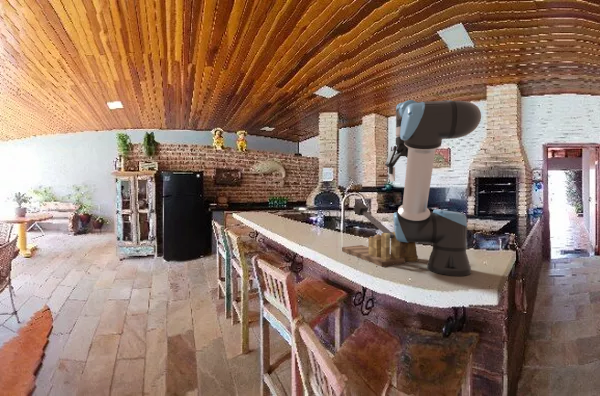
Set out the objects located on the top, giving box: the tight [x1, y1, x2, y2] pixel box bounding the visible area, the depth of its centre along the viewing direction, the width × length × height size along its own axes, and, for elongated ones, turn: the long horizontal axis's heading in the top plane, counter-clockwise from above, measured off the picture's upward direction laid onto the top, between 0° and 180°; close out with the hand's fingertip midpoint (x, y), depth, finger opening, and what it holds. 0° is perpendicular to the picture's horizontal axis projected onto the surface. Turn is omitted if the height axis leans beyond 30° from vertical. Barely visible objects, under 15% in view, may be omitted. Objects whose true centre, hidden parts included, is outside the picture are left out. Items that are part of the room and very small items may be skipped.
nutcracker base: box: [341, 231, 406, 267], centre depth 138 cm, size 30×12×13 cm, turn 24°
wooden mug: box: [399, 242, 419, 263], centre depth 134 cm, size 9×14×18 cm, turn 129°
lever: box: [352, 202, 394, 239], centre depth 135 cm, size 26×4×4 cm, turn 25°
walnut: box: [373, 234, 381, 239], centre depth 133 cm, size 4×4×4 cm
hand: (403, 181), depth 144 cm, fingers open, 13 cm apart
